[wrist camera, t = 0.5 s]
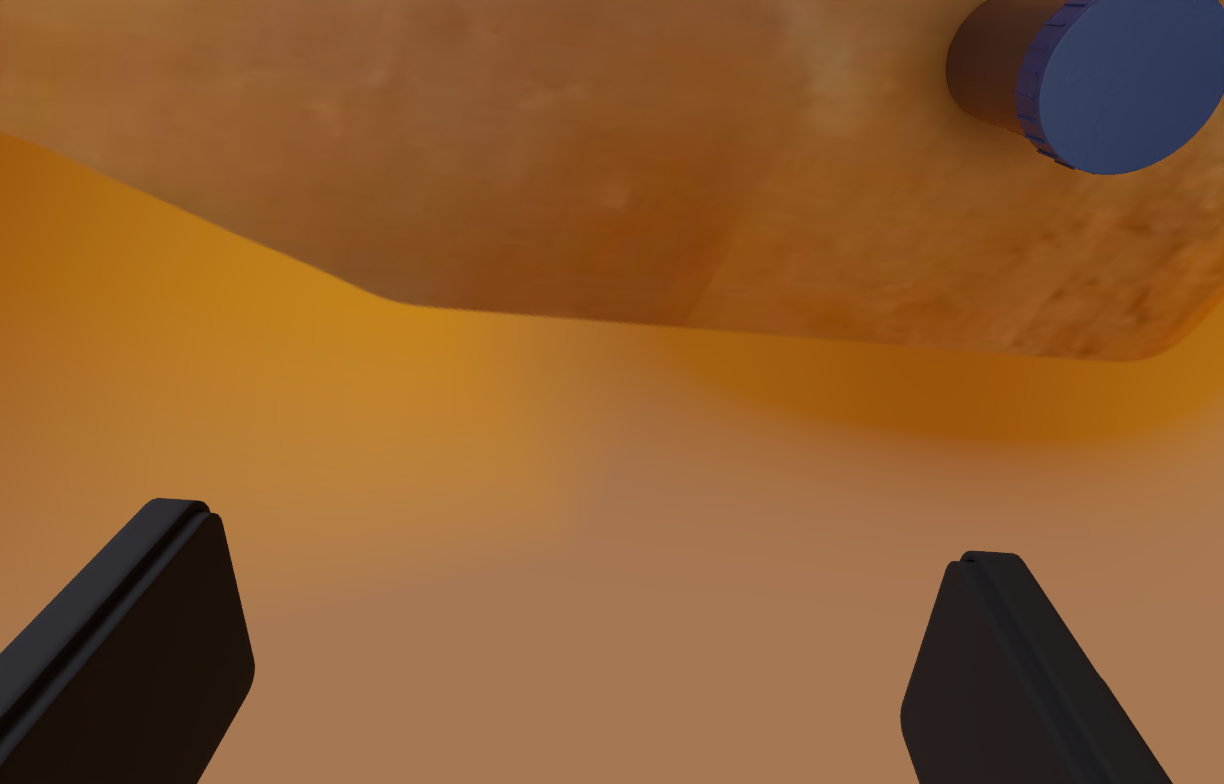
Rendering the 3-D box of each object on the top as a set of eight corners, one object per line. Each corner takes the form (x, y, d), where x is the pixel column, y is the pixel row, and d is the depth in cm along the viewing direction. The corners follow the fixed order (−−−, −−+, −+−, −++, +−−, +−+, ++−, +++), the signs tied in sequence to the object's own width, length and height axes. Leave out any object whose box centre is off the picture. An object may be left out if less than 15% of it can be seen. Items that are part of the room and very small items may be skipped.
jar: (975, -23, 35) (1090, -27, 26) (1094, 4, 36) (1249, 10, 26) (927, 107, 38) (1016, 145, 29) (1038, 132, 38) (1161, 177, 29)
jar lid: (1062, -42, 27) (1091, -44, 26) (1235, -2, 28) (1277, -1, 26) (984, 146, 30) (1006, 156, 29) (1141, 180, 31) (1172, 192, 29)
